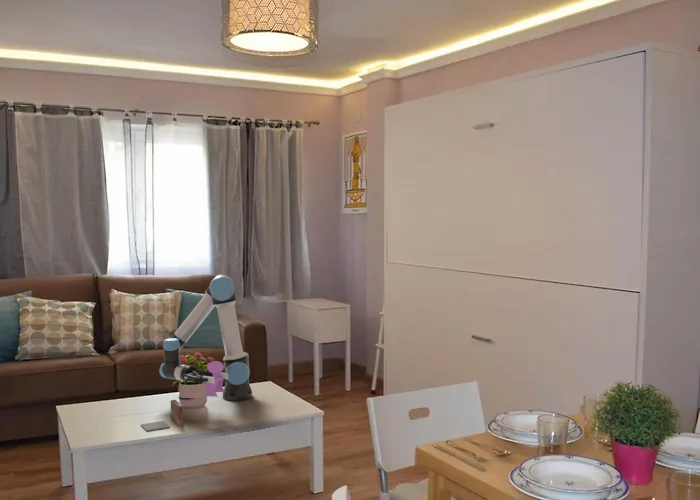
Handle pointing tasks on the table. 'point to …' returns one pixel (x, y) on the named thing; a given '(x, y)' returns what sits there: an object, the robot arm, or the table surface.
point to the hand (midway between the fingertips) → (220, 378)
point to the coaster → (155, 426)
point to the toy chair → (211, 388)
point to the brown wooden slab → (177, 412)
